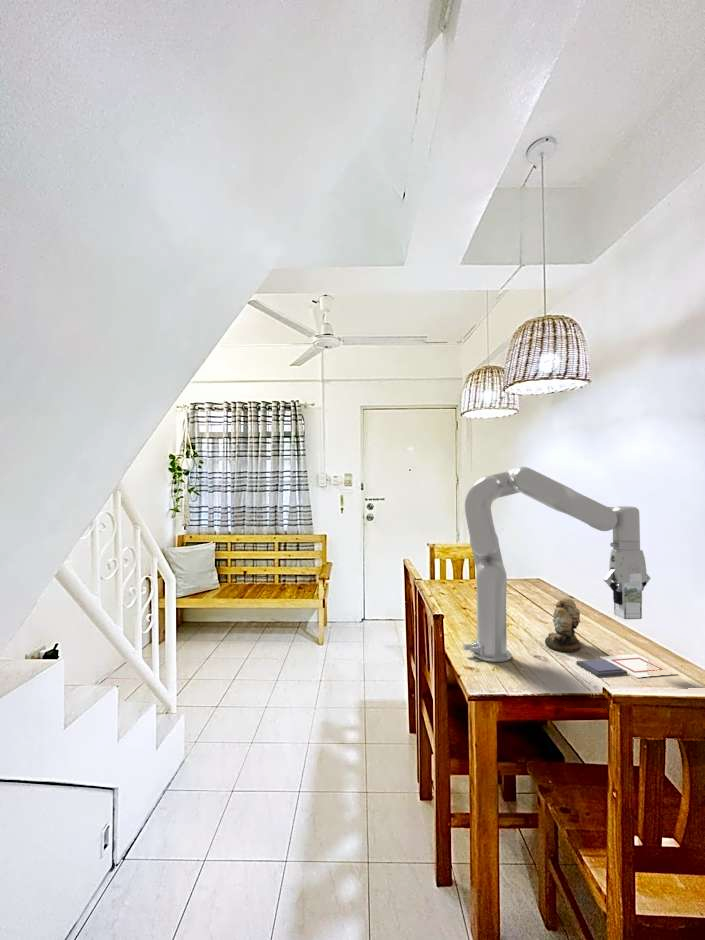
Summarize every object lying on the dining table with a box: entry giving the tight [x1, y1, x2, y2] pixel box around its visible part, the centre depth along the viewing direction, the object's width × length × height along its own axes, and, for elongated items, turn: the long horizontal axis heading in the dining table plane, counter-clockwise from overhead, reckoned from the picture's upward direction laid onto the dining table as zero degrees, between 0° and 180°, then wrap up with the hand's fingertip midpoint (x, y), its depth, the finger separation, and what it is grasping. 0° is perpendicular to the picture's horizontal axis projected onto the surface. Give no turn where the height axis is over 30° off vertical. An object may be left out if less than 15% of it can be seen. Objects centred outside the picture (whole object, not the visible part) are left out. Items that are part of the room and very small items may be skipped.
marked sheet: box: [598, 653, 663, 679], centre depth 156 cm, size 14×17×1 cm
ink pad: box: [575, 658, 628, 677], centre depth 153 cm, size 10×10×1 cm
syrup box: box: [613, 573, 643, 620], centre depth 155 cm, size 6×6×14 cm
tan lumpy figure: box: [544, 596, 582, 654], centre depth 176 cm, size 18×12×17 cm, turn 158°
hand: (627, 602), depth 155 cm, fingers closed on syrup box, 6 cm apart
